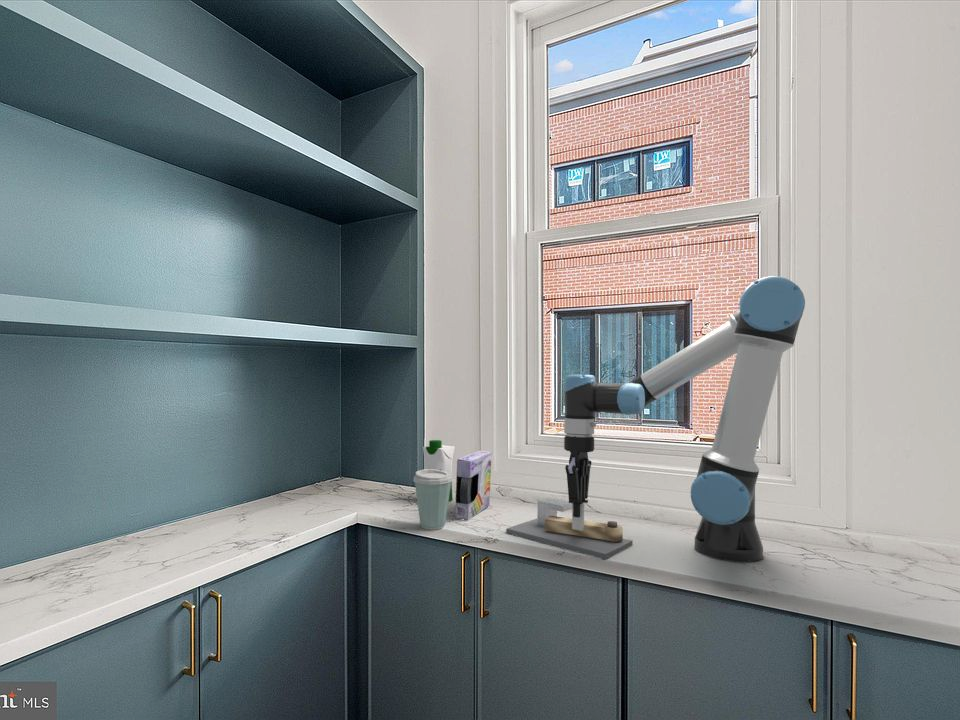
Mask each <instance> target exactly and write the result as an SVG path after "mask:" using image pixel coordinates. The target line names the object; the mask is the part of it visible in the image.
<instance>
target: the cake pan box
mask: <svg viewBox="0 0 960 720" xmlns="http://www.w3.org/2000/svg"><path fill="white" fill-rule="evenodd" d="M492 453H493V452H492V451H487V450H478V451H475V452H473V453H472V452H471V453H469V454H466V455H465V456H462V457H459V458H457V460H456V478H455V479H456V483H455V484H456V486H455V502H454V503H455V507H454V511H455V512H454V519H455V518H456V519H455V520H460V519H464V520H463V521H467V520H468V521H470V520H471V519H472V518H474V517H475V516H477V515H478V514H479V513H481V512H482V511H484V510H485V509H486V508H488V507H490V497H491V496H490V495H491V475H492V474H491V472H492ZM469 519H470V520H469Z"/></svg>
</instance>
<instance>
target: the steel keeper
mask: <svg viewBox="0 0 960 720" xmlns="http://www.w3.org/2000/svg"><path fill="white" fill-rule="evenodd" d="M569 510H572V503H569V501H566V500H563V499H562V500H561V499H556V498H551V497H546V498H542V499H539V500H537V514H536V515H537V518H536V519H537V525H539V526H543V527H545V519H546V518H547V517H549V516H556V517H558V512H562V513H563V512H564V513H565V512H566V511H569Z"/></svg>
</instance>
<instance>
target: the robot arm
mask: <svg viewBox="0 0 960 720" xmlns="http://www.w3.org/2000/svg"><path fill="white" fill-rule="evenodd" d="M738 303H739V308H738V309H737V310H736V311H735V312H733V313H731V314H730V316H729V319H728V321H726V322H725V323H723V324H721V325H720V326H719V327H716V328H715V329H714V330H712V331H710V332H709V333H707V334H705V335H704V336H702V337H701V338H699V339H698V340H696V341H694V342H692V343H691V344H689V345H688V346H686V347H684V348H683V349H681V350H680V351H678V352H676V353H674V354H673V355H671V356H669V357H668V358H666V359H664V360H663V361H662V362H659V363H658V364H656V365H655V366H653V367H652V368H650V369H648V370H647V371H645V372H643V373H641V374H640V375H639V376H636V377H635V378H633V379H632V380H630V381H628V382H596V377H595V375H593V374H569V375H567V376H566V378H565V387H564V424H563V425H564V426H563V429H564V430H563V432H564V434H566V435H565V436H564V437H563V438H564V440H563V449H564V450H565V451H567V452H569V453H570V454H569V459H568V464H566V465H565V473H566V480H567V481H566V482H567V495H568V502H569V503H572V509H571V511H572V512H571V513H572V514H571V519H572V529H575V530H581V531H583V530H584V520H585V504H588V503H589V500H588V497H589V486H590V475H591V468H592V460H589V455H588V454H589V453H592V452H594V451H595V437H594V436H593V435H594V434H595V427H597V423H596V422H595V419H596V418H595V417H596V416H595V415H596V413H599V414H600V413H604V414H615V415H616V414H618V415H619V414H620V415H625V416H626V415H640V414H642V413H643V412H644V409H645V408H646V407H648V406H649V405H650V404H651V403H653V402H654V401H656V400H658V399H660V398H662V397H663V396H665V395H667V394H668V393H670V392H671V391H673V390H676V389H677V388H679V387H680V386H683V385H684V384H686V383H687V382H689V381H691V380H692V379H694V378H696V377H697V376H700V375H701V374H703V373H705V372H707V371H708V370H709V369H711V368H713V367H715V366H717V365H719V364H720V363H722V362H724V361H725V360H727V359H728V358H731V357H732V356H735V360H734V363H733V367H732V371H731V374H730V378H729V383H728V386H727V390H726V394H725V397H724V401H723V405H722V409H721V412H720V417H719V419H718V420H719V421H718V423H717V427H716V431H715V435H714V440H713V442H712V447H711V448H710V449H708V450H706V451H704V452H702V455H701V460H700V463H699V466H698V471H697V474H696V478H695V479H694V480H693V482H692V484H691V487H690V499H691V503H692V506H693V508H694V509H695V511H696V512H697V513H698V515H699V516H700V517H701V520H700V522H699V525H698V528H697V530H696V533H695V536H694V549H695V550H696V551H697V552H699V553H700V554H702V555H704V556H707V557H710V558H714V559H718V560H723V561H729V562H738V563H739V562H741V563H751V562H757V561H760V560H762V559H764V546H763V543H762V539H761V537H760V534H759V531H758V528H757V526H756V484H757V480H758V477H759V473H760V468H759V466H758V465H757V463H756V462H755V456H756V454H757V449H758V446H759V442H760V438H761V435H762V431H763V427H764V423H765V421H766V416H767V413H768V409H769V406H770V405H769V404H770V401H771V399H772V394H773V392H774V388H775V387H774V386H775V384H776V381H777V376H778V372H779V369H780V365H781V361H782V358H783V355H784V352H786V351H788V350H789V349H791V348H792V347H794V345H795V341H796V338H797V334H798V330H799V326H800V322H801V319H802V317H803V314H804V310H805V308H806V307H805V306H806V299H805V295H804V293H803V291H802V289H801V288H800V287H799V285H798V284H796V283H795V282H793V281H792V280H790V279H789V278H786V277H782V276H778V275H777V276H775V275H769V276H765V277H761V278H759V279H757V280H754V281H753V282H752V283H750V284H749V285H748V286H747V287H746V289H744V291H743V293H742V294H741V296H740V299H739V302H738Z"/></svg>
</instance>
